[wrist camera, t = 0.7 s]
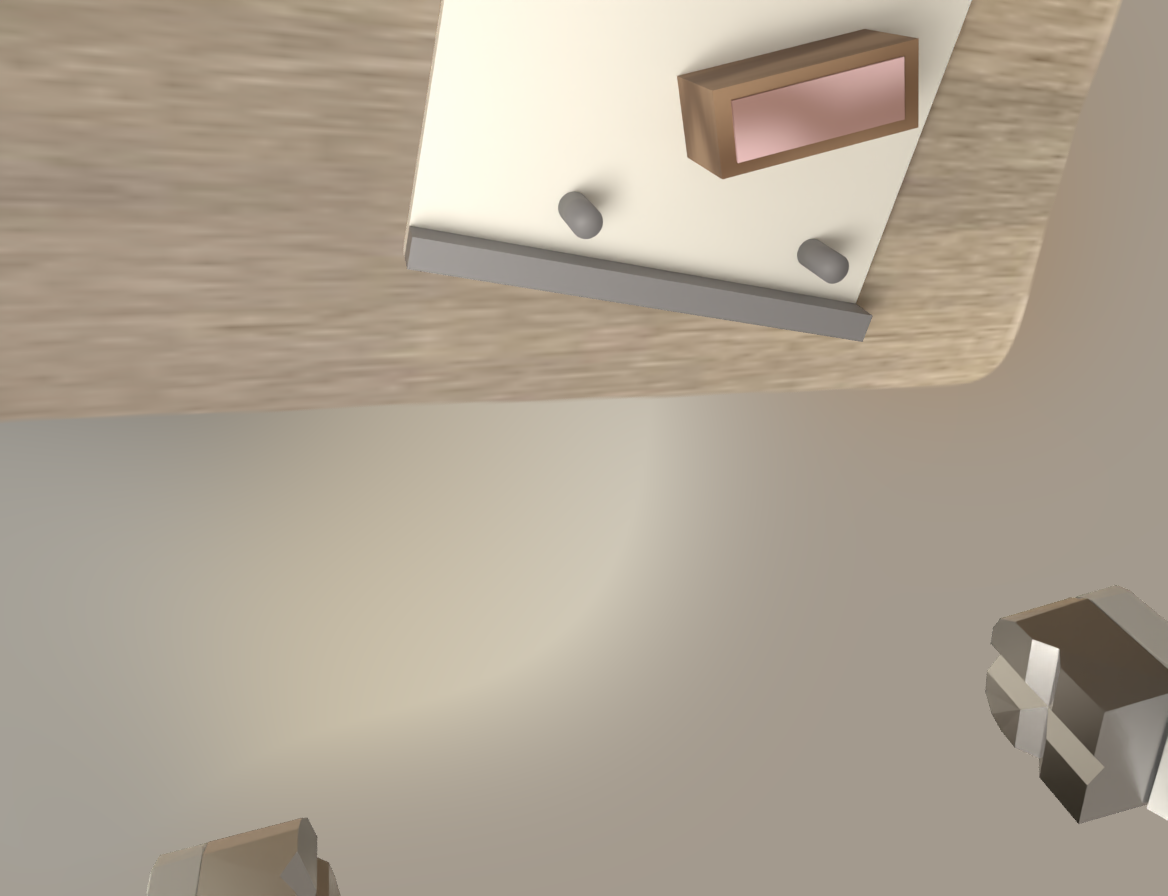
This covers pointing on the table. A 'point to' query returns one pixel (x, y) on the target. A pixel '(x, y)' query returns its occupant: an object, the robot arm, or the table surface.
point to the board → (650, 159)
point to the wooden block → (800, 101)
